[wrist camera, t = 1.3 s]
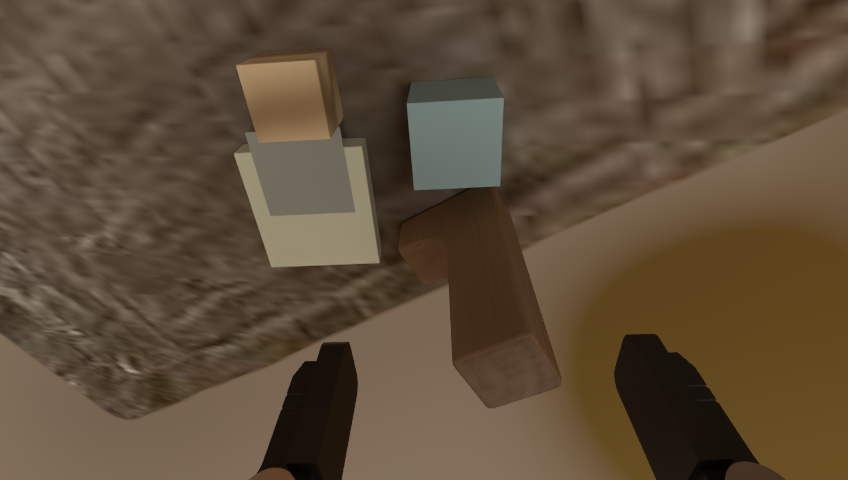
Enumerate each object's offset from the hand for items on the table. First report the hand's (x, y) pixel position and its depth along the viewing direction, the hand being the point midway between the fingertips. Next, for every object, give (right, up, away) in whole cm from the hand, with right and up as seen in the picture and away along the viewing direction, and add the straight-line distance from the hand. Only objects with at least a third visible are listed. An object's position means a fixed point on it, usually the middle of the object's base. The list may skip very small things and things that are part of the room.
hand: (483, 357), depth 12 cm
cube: (0, +13, +20) cm, 24 cm away
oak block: (-11, +15, +19) cm, 26 cm away
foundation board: (-11, +7, +24) cm, 27 cm away
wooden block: (+1, +5, +25) cm, 25 cm away
